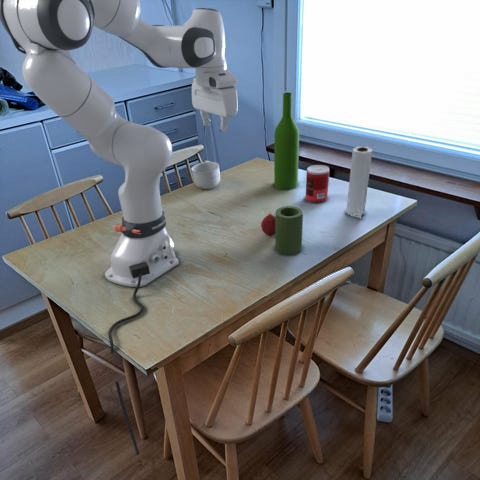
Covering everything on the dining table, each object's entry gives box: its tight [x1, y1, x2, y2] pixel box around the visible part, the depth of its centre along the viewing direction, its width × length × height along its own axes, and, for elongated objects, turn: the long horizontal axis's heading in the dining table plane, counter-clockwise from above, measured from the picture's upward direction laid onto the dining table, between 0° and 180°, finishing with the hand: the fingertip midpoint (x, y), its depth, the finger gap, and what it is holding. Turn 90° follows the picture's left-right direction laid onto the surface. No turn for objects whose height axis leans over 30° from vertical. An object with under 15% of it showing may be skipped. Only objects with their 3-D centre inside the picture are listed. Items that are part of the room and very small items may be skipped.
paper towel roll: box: [345, 146, 373, 220], centre depth 150 cm, size 7×6×21 cm
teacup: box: [190, 160, 221, 190], centre depth 180 cm, size 14×11×8 cm
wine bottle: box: [273, 92, 300, 190], centre depth 168 cm, size 9×9×32 cm
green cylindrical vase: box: [275, 205, 304, 256], centre depth 136 cm, size 8×8×12 cm
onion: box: [260, 212, 276, 237], centre depth 144 cm, size 6×6×8 cm
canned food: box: [305, 164, 330, 204], centre depth 164 cm, size 8×8×11 cm
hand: (215, 128), depth 138 cm, fingers open, 8 cm apart
